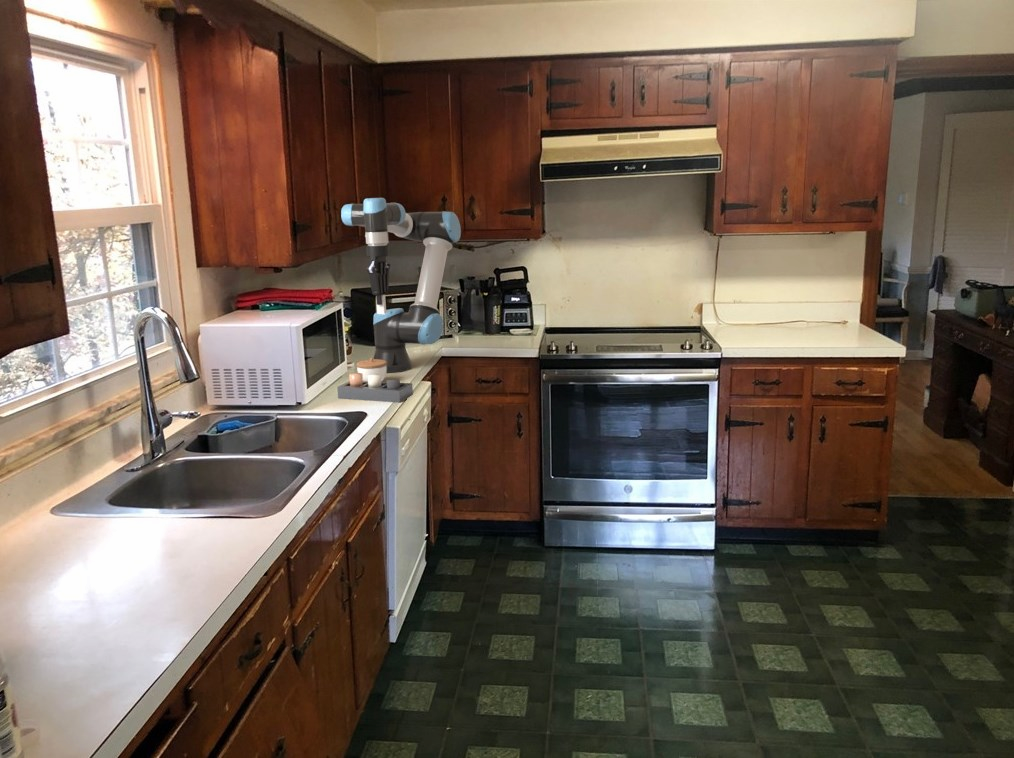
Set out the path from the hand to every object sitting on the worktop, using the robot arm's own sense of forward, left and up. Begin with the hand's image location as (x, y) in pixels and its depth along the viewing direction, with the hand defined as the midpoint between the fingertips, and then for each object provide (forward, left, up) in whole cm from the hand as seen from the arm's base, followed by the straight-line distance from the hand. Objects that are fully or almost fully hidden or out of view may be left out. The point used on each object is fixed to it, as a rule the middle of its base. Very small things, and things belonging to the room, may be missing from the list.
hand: (381, 313), depth 273 cm
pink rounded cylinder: (+12, -5, -24) cm, 27 cm away
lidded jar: (-5, -8, -27) cm, 28 cm away
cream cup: (+12, +2, -24) cm, 27 cm away
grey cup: (+12, +9, -26) cm, 30 cm away
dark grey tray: (+12, +2, -26) cm, 29 cm away
